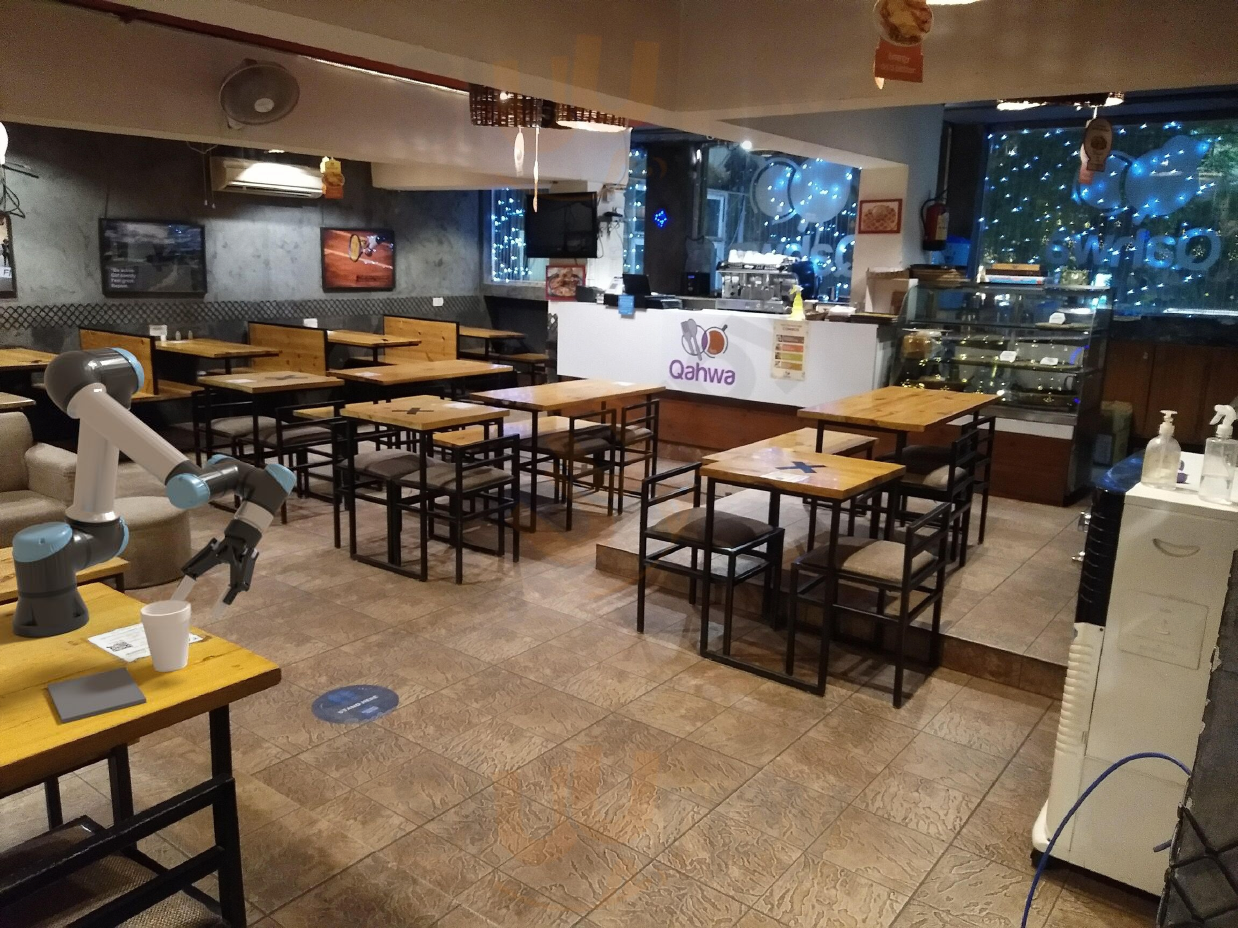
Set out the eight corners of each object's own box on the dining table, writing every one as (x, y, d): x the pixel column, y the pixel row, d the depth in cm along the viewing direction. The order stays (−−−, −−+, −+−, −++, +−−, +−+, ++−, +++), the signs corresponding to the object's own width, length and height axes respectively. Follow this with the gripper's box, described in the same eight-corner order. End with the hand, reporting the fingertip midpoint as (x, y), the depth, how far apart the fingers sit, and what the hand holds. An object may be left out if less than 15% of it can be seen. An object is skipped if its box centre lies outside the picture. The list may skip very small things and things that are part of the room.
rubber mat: (47, 688, 179) (46, 684, 179) (125, 670, 188) (125, 666, 188) (62, 723, 166) (62, 719, 166) (146, 701, 175) (146, 698, 174)
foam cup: (175, 677, 185) (169, 617, 183) (135, 672, 187) (130, 613, 185) (204, 658, 195) (200, 601, 192) (166, 654, 196) (161, 597, 194)
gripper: (296, 543, 199) (244, 629, 189) (223, 526, 211) (169, 607, 201) (275, 526, 193) (219, 614, 184) (200, 509, 205) (145, 591, 196)
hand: (193, 610), depth 193 cm, fingers open, 13 cm apart
